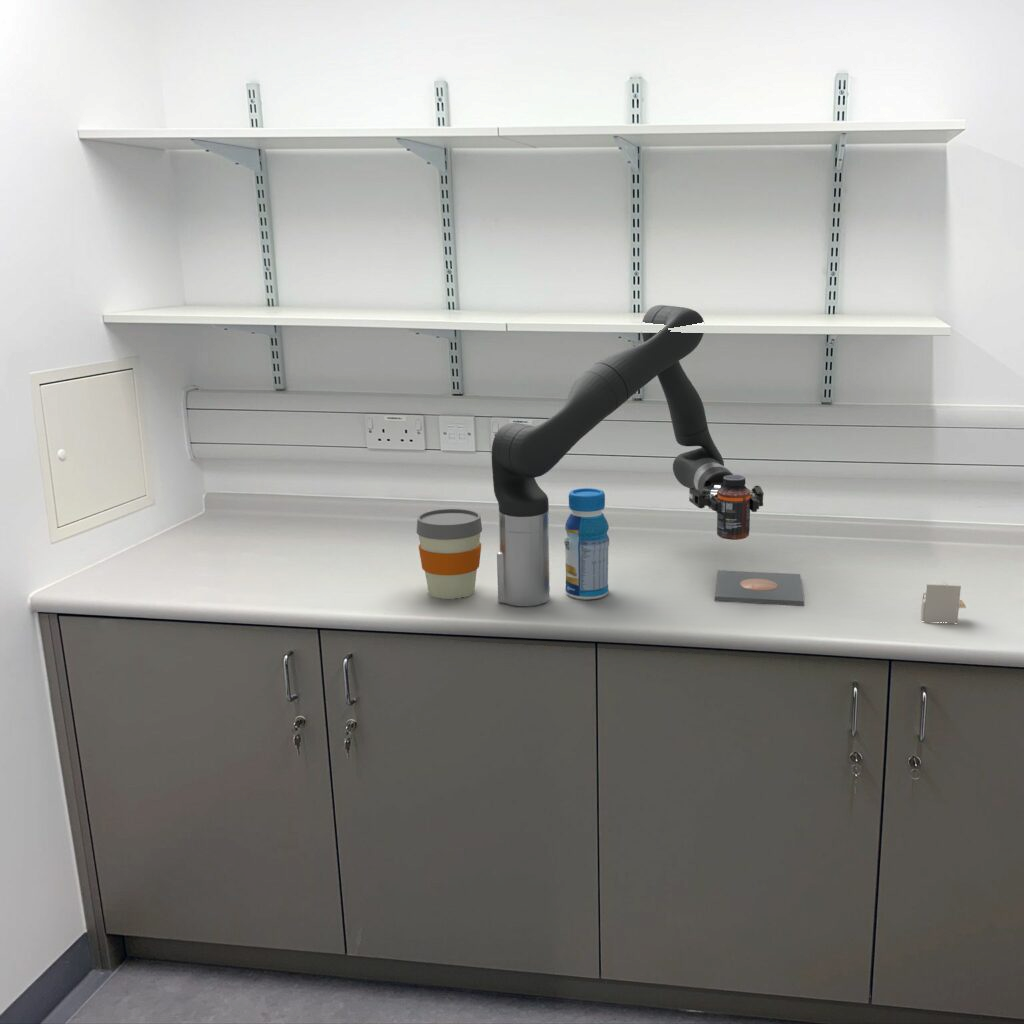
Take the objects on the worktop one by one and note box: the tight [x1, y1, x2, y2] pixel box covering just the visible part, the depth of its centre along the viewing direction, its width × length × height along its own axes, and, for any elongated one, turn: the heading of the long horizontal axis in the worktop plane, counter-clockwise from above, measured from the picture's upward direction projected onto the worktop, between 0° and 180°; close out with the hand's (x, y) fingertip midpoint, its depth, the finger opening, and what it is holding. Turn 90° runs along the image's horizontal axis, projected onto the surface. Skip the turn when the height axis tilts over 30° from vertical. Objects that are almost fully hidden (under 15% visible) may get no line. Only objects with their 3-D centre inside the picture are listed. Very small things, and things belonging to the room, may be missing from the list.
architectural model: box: [920, 581, 967, 624], centre depth 183 cm, size 3×7×7 cm, turn 79°
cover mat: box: [714, 569, 805, 606], centre depth 201 cm, size 16×16×1 cm
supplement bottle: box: [716, 474, 751, 541], centre depth 193 cm, size 6×6×11 cm
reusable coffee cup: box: [416, 508, 483, 600], centre depth 201 cm, size 13×13×15 cm
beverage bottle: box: [563, 487, 610, 601], centre depth 198 cm, size 8×8×20 cm
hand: (737, 507), depth 191 cm, fingers closed on supplement bottle, 6 cm apart
